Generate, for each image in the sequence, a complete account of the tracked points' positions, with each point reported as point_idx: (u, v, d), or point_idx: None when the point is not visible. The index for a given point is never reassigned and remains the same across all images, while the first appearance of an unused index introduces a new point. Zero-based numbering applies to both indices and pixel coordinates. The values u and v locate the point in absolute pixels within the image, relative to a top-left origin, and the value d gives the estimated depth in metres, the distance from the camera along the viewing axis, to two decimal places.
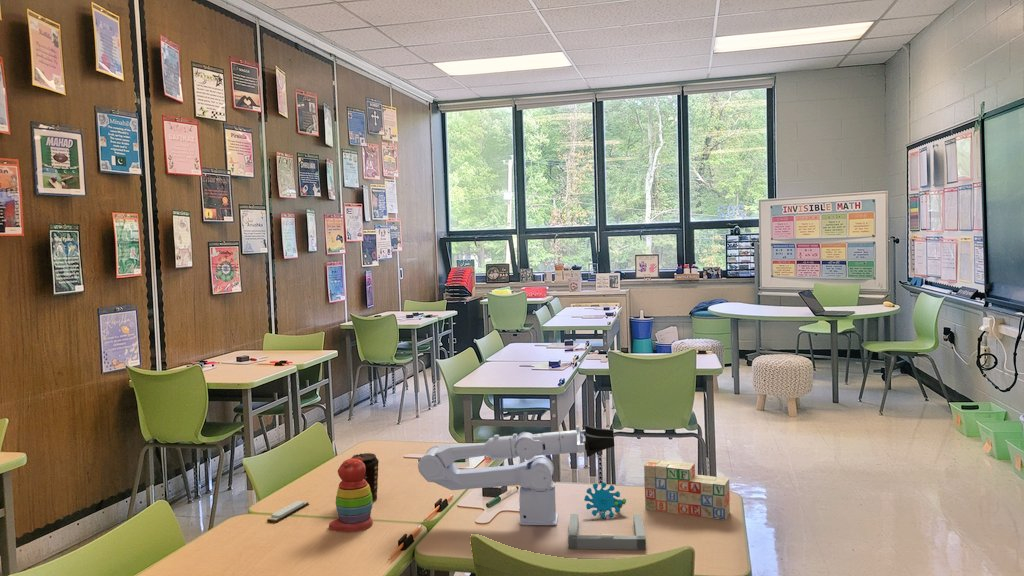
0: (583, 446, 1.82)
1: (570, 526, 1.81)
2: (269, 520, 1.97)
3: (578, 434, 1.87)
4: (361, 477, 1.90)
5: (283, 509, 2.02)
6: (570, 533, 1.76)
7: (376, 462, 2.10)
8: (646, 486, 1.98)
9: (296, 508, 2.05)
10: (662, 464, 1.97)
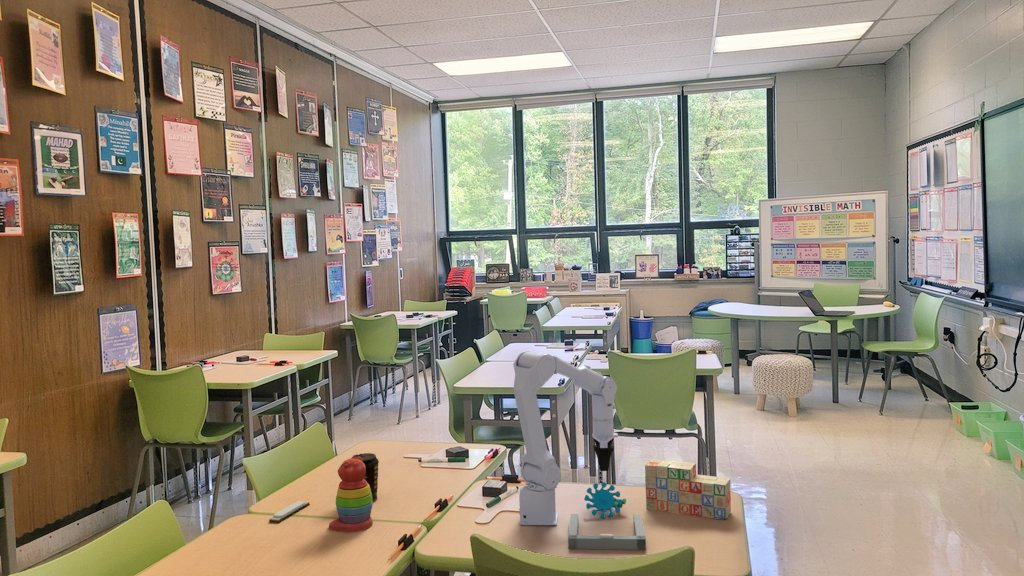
0: (605, 446, 1.98)
1: (570, 526, 1.81)
2: (271, 520, 1.97)
3: (611, 438, 2.02)
4: (361, 477, 1.90)
5: (285, 509, 2.02)
6: (570, 533, 1.76)
7: (376, 462, 2.10)
8: (647, 486, 1.98)
9: (297, 508, 2.04)
10: (663, 464, 1.97)
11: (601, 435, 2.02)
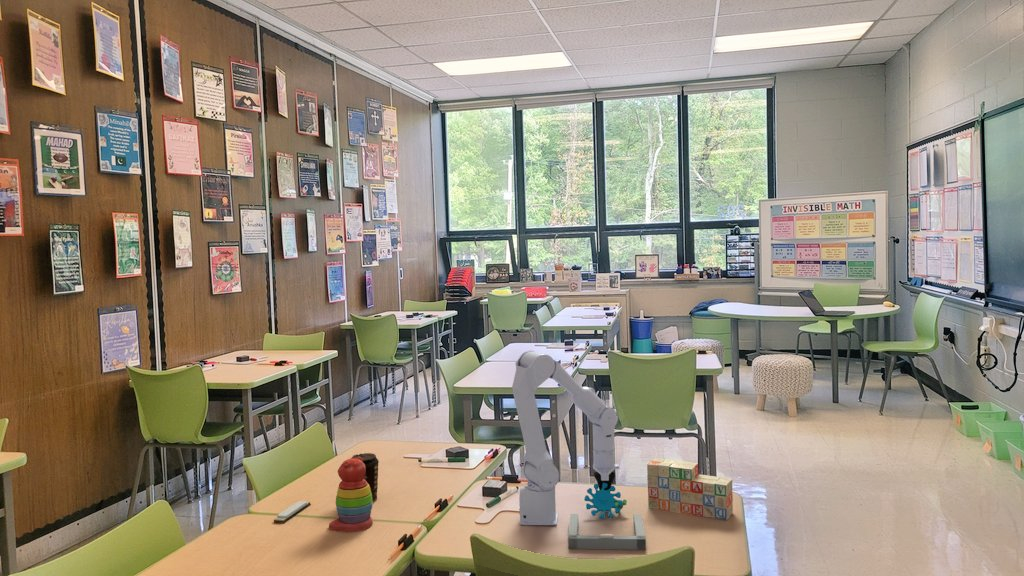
0: (606, 479, 1.92)
1: (570, 526, 1.81)
2: (276, 521, 1.96)
3: (613, 469, 1.97)
4: (361, 477, 1.90)
5: (288, 509, 2.02)
6: (570, 533, 1.76)
7: (376, 462, 2.10)
8: (649, 485, 1.98)
9: (300, 508, 2.04)
10: (665, 463, 1.98)
11: (602, 467, 1.97)
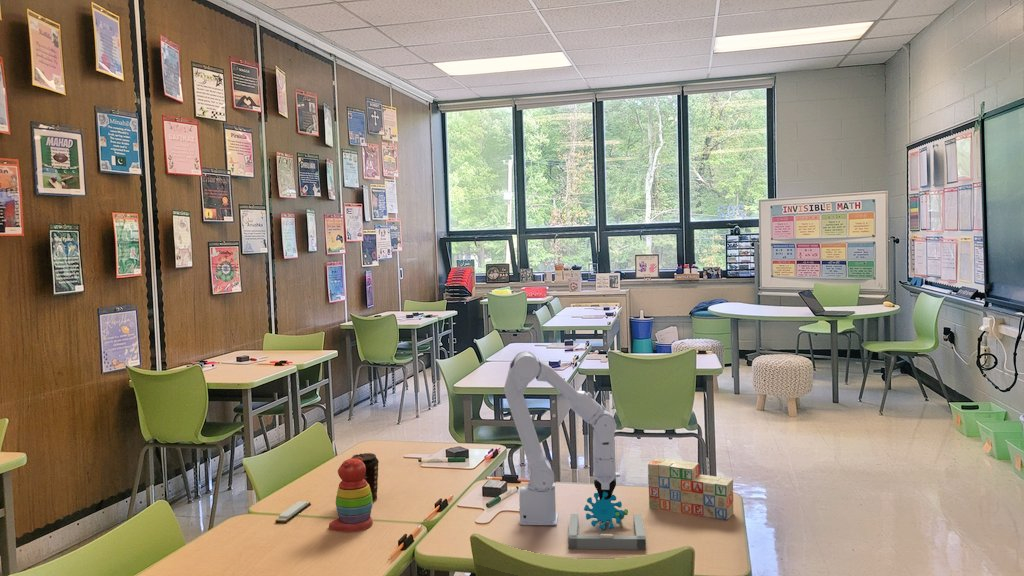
0: (607, 488, 1.85)
1: (570, 526, 1.81)
2: (278, 521, 1.96)
3: (614, 478, 1.90)
4: (361, 477, 1.90)
5: (289, 510, 2.02)
6: (570, 533, 1.76)
7: (376, 462, 2.10)
8: (650, 485, 1.99)
9: (301, 508, 2.04)
10: (665, 463, 1.98)
11: (602, 475, 1.89)
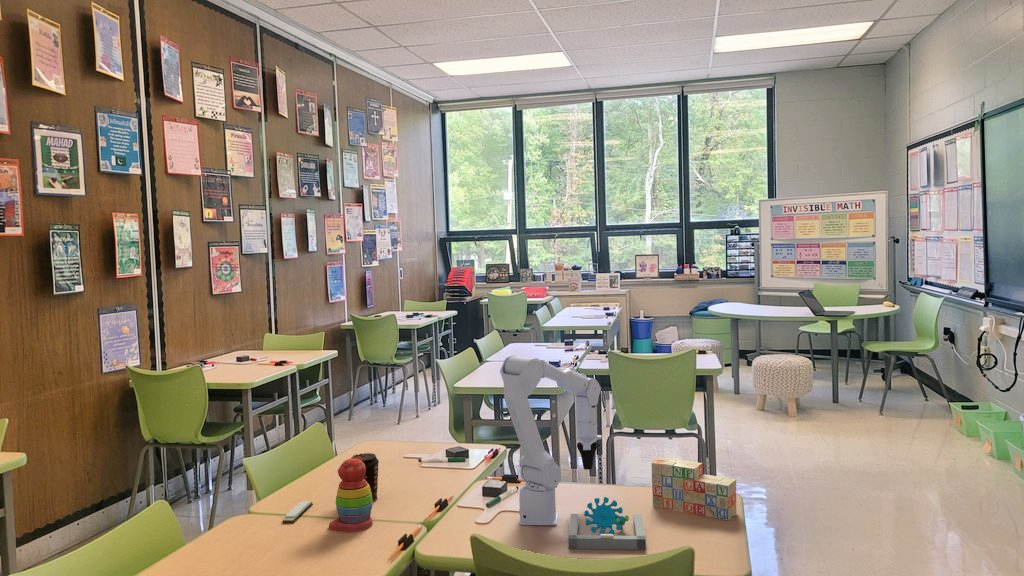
0: (588, 448, 1.96)
1: (570, 526, 1.81)
2: (285, 521, 1.96)
3: (595, 440, 2.01)
4: (361, 477, 1.90)
5: (294, 510, 2.01)
6: (570, 533, 1.76)
7: (376, 462, 2.10)
8: (653, 483, 2.00)
9: (305, 508, 2.04)
10: (669, 462, 1.98)
11: (585, 437, 2.01)
